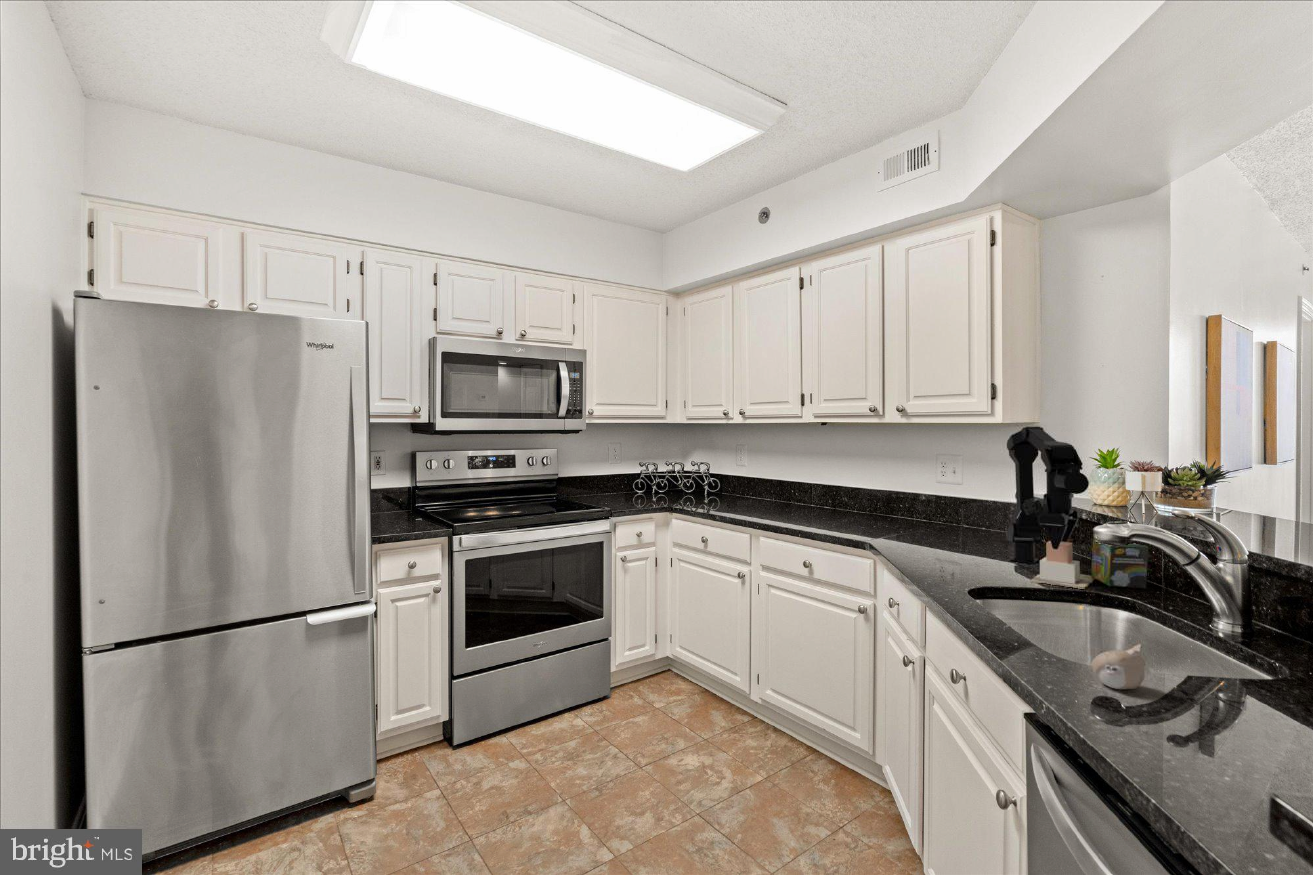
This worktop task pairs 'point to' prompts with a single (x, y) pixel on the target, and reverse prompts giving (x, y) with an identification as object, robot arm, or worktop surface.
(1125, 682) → the beige toy figurine
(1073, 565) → the base brick
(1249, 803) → the worktop surface
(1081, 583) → the board
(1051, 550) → the pink cube
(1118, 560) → the chalk box
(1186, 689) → the worktop surface
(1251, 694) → the worktop surface
